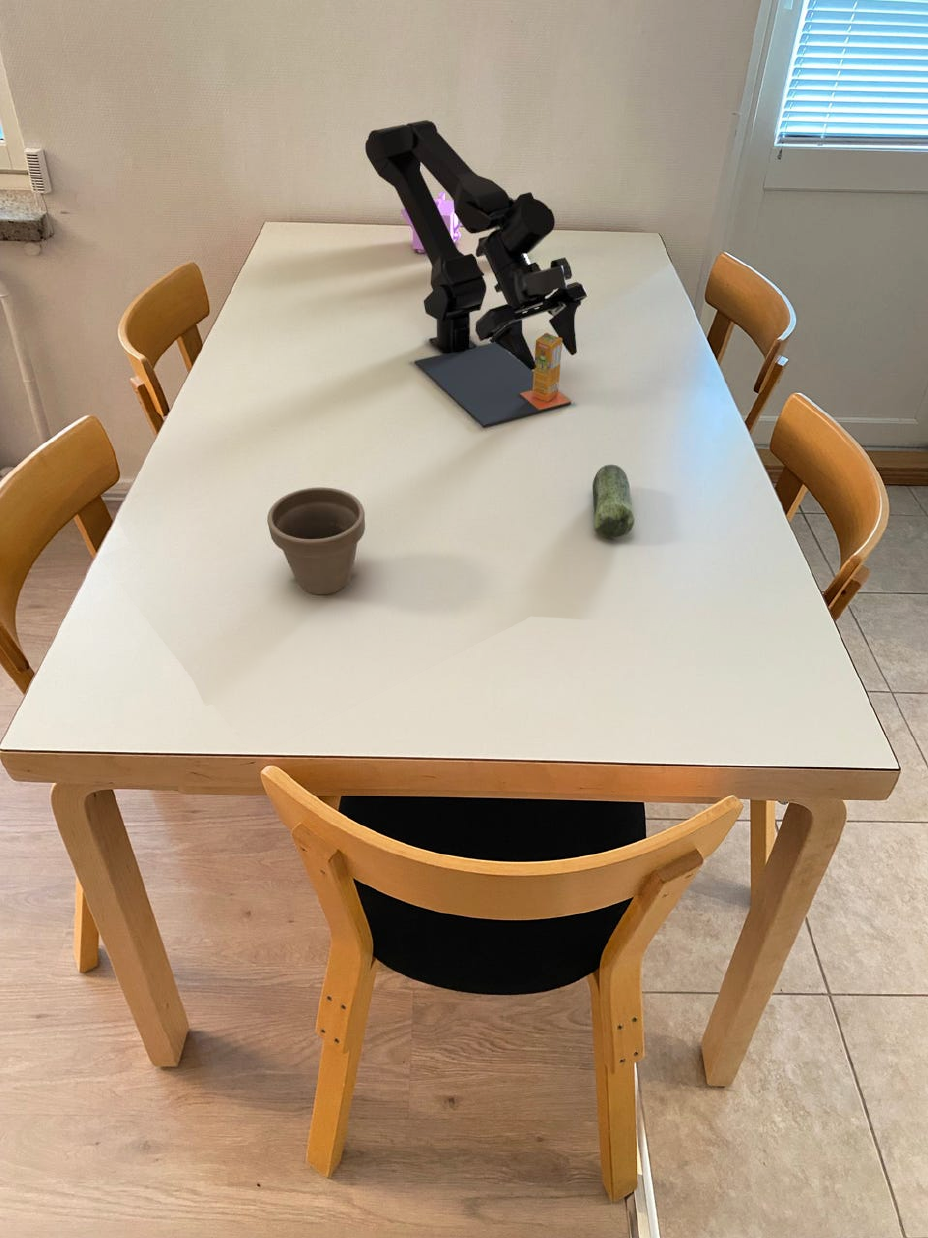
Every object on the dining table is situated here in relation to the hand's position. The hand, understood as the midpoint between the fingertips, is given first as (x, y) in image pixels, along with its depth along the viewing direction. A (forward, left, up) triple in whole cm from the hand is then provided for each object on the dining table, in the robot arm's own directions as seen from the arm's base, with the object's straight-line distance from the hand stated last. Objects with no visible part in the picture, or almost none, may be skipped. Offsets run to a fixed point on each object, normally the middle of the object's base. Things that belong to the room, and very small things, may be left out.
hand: (554, 361), depth 150 cm
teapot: (-68, +14, -7) cm, 70 cm away
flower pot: (+25, -49, -8) cm, 56 cm away
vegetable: (+30, -9, -8) cm, 32 cm away
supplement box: (-2, 0, -7) cm, 7 cm away
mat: (-10, -5, -7) cm, 14 cm away
